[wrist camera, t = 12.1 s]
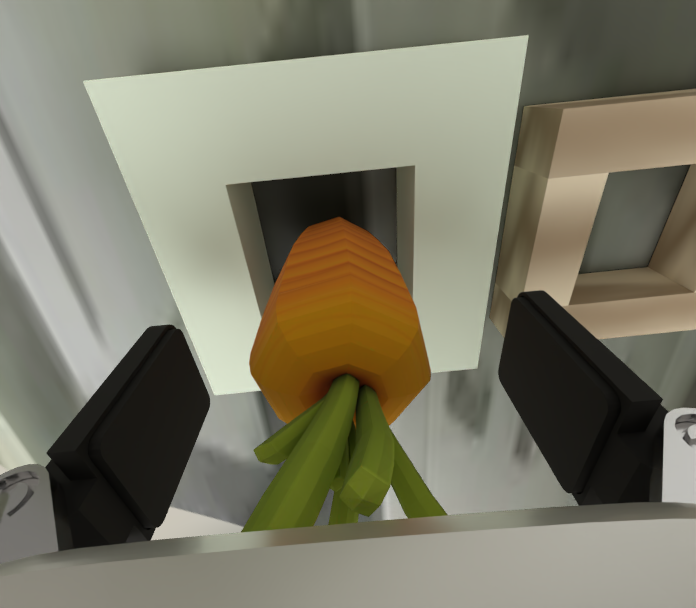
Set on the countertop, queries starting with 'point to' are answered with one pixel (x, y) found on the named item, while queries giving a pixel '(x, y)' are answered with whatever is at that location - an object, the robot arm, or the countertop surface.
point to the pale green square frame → (319, 159)
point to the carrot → (338, 381)
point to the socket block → (581, 207)
